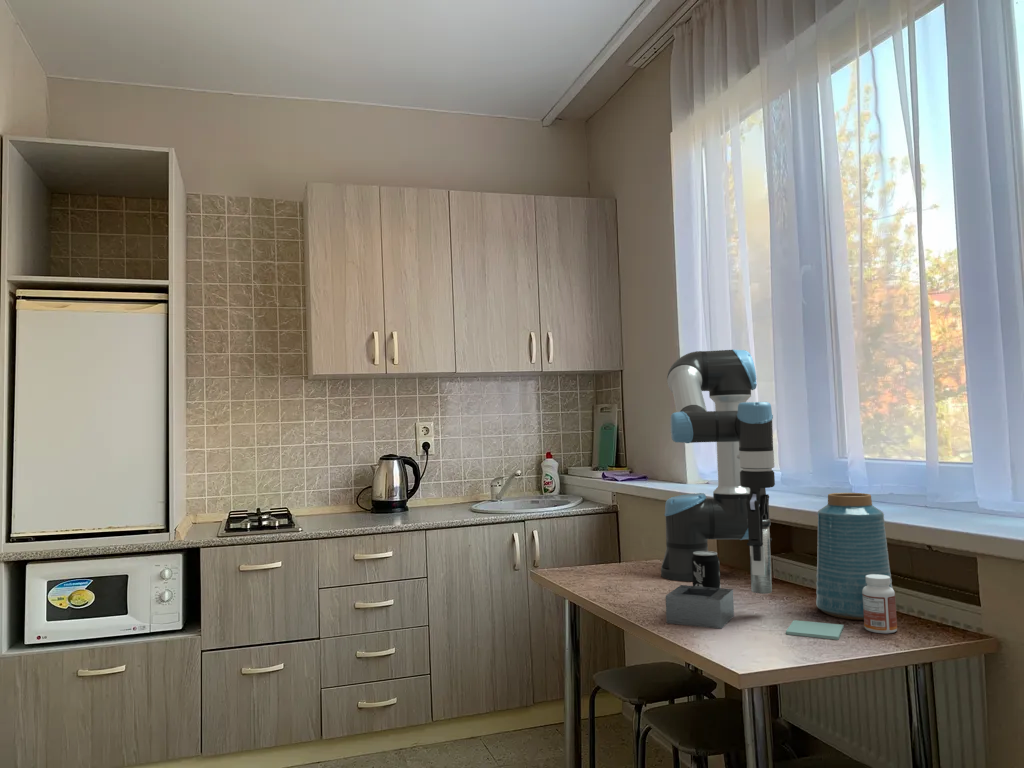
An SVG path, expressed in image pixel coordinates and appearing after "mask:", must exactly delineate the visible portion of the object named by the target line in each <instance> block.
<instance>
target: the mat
mask: <svg viewBox="0 0 1024 768" xmlns="http://www.w3.org/2000/svg"><path fill="white" fill-rule="evenodd" d="M843 630H844V624H839V623H838V624H837V623H829V622H819V621H818V622H817V621H807V620H796V619H793V620H792V622H791V623H790V625H789V626H788V627H787V628H786V630H785V635H790V636H796V637H797V636H799V637H806V638H807V637H809V638H818V639H826V640H827V639H829V640H835V641H837V640H840V637H841V635H842V633H843Z"/></svg>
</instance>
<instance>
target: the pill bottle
mask: <svg viewBox="0 0 1024 768" xmlns="http://www.w3.org/2000/svg"><path fill="white" fill-rule="evenodd" d="M866 583H867V586H865V587H864V588H863V590H862V594H863V611H864V620H863V625H864V629H865V630H866V631H869V632H871V633H876V634H884V635H885V634H894V633H895V632H897V631H898V617H897V605H896V604H897V602H896V593H895V590H894V588H893V587H892V588H893V589H892V588H891V587H889V585H890V583H891V581H890V577H889V576H887V575H879V574H871V575H866ZM891 584H892V583H891Z"/></svg>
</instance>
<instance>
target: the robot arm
mask: <svg viewBox="0 0 1024 768" xmlns="http://www.w3.org/2000/svg"><path fill="white" fill-rule="evenodd" d="M755 367H756V366H755V362H754V359H753V357H752V355H751V353H750V352H749V351H747V350H745V349H725V350H723V349H721V350H704V351H702V350H699V351H697V350H696V351H692V352H688V353H687V354H684V355H682V356H681V357H679V358H677V360H676V361H674V362H673V364H672V365H671V366H670V367H669V369H668V372H667V374H666V380H667V381H666V382H667V387H668V389H669V390H670V392H671V393H672V394H673V401H674V407H675V411H674V412H673V413H671V415H670V433H671V440H672V441H673V442H674V443H684V444H692V443H693V444H694V443H698V444H699V443H716V455H717V456H716V457H717V459H716V460H717V462H716V463H717V479H718V480H717V481H718V482H717V484H718V485H717V487H716V488H715V489H714V490H713V492H712V493H713V494H712V495H713V496H712V498H707V495H706V494H705V493H704V492H703V493H700V492H699V493H687V494H681V495H675V496H672V497H670V498H667V500H666V501H665V506H664V508H665V509H664V514H663V515H664V517H665V544H666V546H665V547H666V548H665V553H664V556H663V560H662V564H661V567H660V575H661V577H662V578H664V579H667V580H671V581H677V582H678V581H679V582H693V580H692V557H693V555H694V554H693V552H696V551H709V547H708V546H709V545H708V543H709V542H708V540H739V541H742V540H748V542H746V545H747V546H749V547H750V546H751V559H752V575H761V576H765V557H764V546H763V523H762V521H763V519H766V518H767V519H770V508H769V506H770V505H769V503H770V502H769V501H770V500H769V499H770V496H769V494H767V490H766V489H769V488H773V487H775V485H776V481H775V471H774V470H772V469H774V468H775V452H774V451H775V450H774V438H773V437H774V433H773V420H774V414H773V411H772V404H771V403H770V402H769V401H751V402H750V401H749V402H748V400H749V399H750V398H751V397H752V391H754V390H756V389H757V384H758V383H757V372H756V368H755ZM703 392H708V393H709V399H711V400H712V401H713V402H714V406H715V407H714V410H713V411H712V410H709V411H708V410H707V406H706V403H705V402H706V401H705V399H704V395H703ZM747 519H748V523H747ZM769 532H770V527H769ZM772 540H773V538H772V537H770V542H772Z"/></svg>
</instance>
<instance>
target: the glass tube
mask: <svg viewBox="0 0 1024 768" xmlns="http://www.w3.org/2000/svg"><path fill="white" fill-rule="evenodd" d="M747 523H748V519H747ZM762 523H763V546H764V557H765V576H761V575H752V559H751V546H749V559H750V560H749V562H750V565H749V566H750V586H751V589H750V590H751V592H752V593H755V594H763V595H767V594H770V593H772V592H773V585H772V562H771V560H772V559H771V558H772V557H771V541H770V538H771V533H770V532H769V528H770V526H771V524H772V523H771V518H769V519H767V518H766V519H763V521H762Z"/></svg>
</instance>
